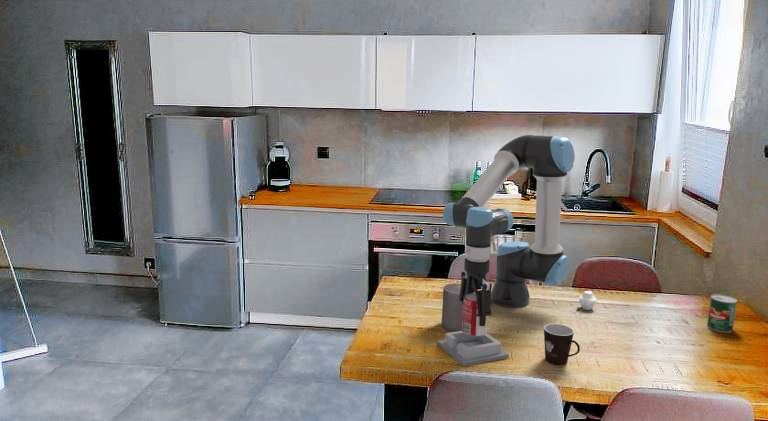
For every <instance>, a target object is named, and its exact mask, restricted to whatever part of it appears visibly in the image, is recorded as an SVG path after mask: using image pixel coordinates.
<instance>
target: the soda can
mask: <svg viewBox="0 0 768 421" xmlns="http://www.w3.org/2000/svg"><path fill="white" fill-rule="evenodd" d="M477 314H478V307H477V299H476V294H475V293H471V294H467V295H466V298H465V299H464V301H463V313H462V331H463V332H464V333H465V334H466V335H468V336H472V337H477V336H476V318H477Z"/></svg>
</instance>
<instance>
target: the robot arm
mask: <svg viewBox="0 0 768 421" xmlns="http://www.w3.org/2000/svg"><path fill="white" fill-rule="evenodd" d="M493 157H494V158H493V159H494V160H493V161H492V162H491V163H490V165H489V166H488V167H487V168H485V171H483V173H482V174H481V175H480V176H479V178H477V180H475V182H474V184H473V185H471V187H470V188H469V189H468V190H467V191H466V193H465V194H464V195H463V196H462V198H461V199H459V200H458V202H449V203H447V204H445V206H444V208H443V211H442V218H443V222H444V223H445V224H446V225H449V226H451V227H455V228H461V229H465V231H466V232H465V249H464V252H465V253H464V257H465V258H464V265H463V266H464V268H463V269H464V271H461V274H460V275H461V280H460V284H461V288H460V297H459V300H460V301H462V305H463V301H464V299H465V298H466V295H467V294H471V293H475V294H476V299H477V307H478V314H477V318H476V336H481V335H485V332H486V325H487V324H486V323H487V322H486V321H487V317H488V316H491V315H492V303H493V304H496V305H497V306H501V307H506V308H507V307H508V308H522V307H526V306H529V304H530V301H531V300H530V299H531V296H530V291H529V289H528V285H527V280H528V281H532V282H537V283H540V284H543V285H549V286H555V287H556V286H558V285H560V284H561V283H562V282H563V281H564V280H565V277H566V275H567V273H568V270H569V267H570V259H569V256H567V255H566V254H564V248H563V246H562V245H561V244H560V235H561V233H560V232H561V230H560V229H561V216H562V215H561V213H562V212H561V210H562V192H563V191H562V190H563V189H562V188H563V180H564V179H565V178H566V177H567V175H568V172H571V171H572V169H573V167H574V164H575V159H576V158H575V148H574V145H573V144H572V142H571V140H570V139H568V138H567V137H561V136H558V135H555V136H554V135H538V134H537V135H534V134H526V135H525V134H524V135H519V136H518V137H516V138H513V139H512V140H510V141H508V142H507V143H506V144H504V145H502V146H501V148H500V149H498V150H497V152H496V153H495V155H494V156H493ZM521 168H527V169H532V176H533V177H534V178H535V179H536V194H535V195H536V196H535V200H536V201H535V228H534V243H532V244H531V245H530V244H529V243H528V242H526V241H518V240H516V241H506V242H502V243H500V244H499V245H498V246H497V250H496V251H497V252H496V265H495V280H494V283H493V284H492V283H491V282H488V281H487V277H486V275H487V274H488V273H489V272H490V267H491V266H490V265H491V264H490V262H491V261H490V259H491V250H492V249H491V248H492V245H491V244H492V237H494V236H497V235H500V234H501V235H502V234H504V233H506V232H508V231H510V230H511V229H512V227H513V226H514V222H515V221H514V216H513V214H512V212H511V211H510V210H508V208H496V209H492V208H490V207H485V206H486V205H487V204H488V203H489V201H490V200H491V199H492V198H493V197H494V195H495V194H496V193H497V192H498V190H499V189H500V187H501V186H502V185H503V184H504V183H505V182H506V180H507V179H509V177H510V175H511V174H514V173H517V172H518V171H519V169H521ZM463 296H464V297H463Z"/></svg>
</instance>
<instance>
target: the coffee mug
mask: <svg viewBox="0 0 768 421" xmlns="http://www.w3.org/2000/svg"><path fill="white" fill-rule="evenodd" d="M574 334H575V330H574V329H573V328H572V327H570V326H568V325H565V324H560V323H548V324H546V325H544V326H543V336H544V337H543V340H544V359H545V361H546V362H547V363H548V364H550V365H553V366H565V365H567V364H568V361H569V360H568V359H569V357H573V356H574V357H575V356H576V355H578V354H579V353H580V351H581V349H580V348H581V347H580V344H579V343H578V342H577V341H576V340H573V338H574ZM573 343H574V344H575V346H576V348H577V350H576V352H574V353H570V352H571V348H572V344H573Z"/></svg>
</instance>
